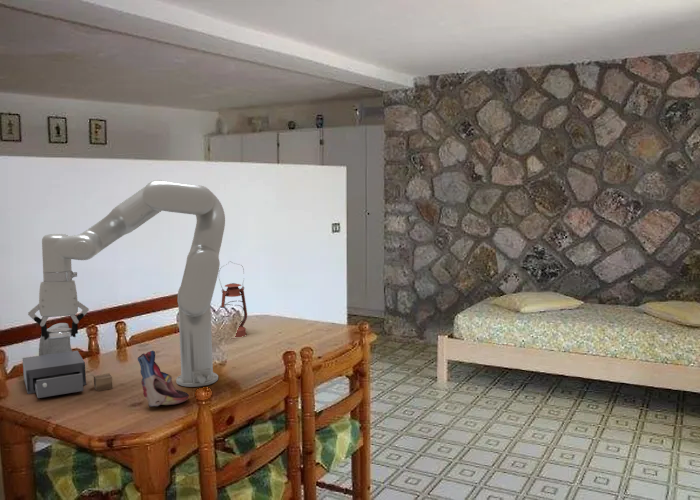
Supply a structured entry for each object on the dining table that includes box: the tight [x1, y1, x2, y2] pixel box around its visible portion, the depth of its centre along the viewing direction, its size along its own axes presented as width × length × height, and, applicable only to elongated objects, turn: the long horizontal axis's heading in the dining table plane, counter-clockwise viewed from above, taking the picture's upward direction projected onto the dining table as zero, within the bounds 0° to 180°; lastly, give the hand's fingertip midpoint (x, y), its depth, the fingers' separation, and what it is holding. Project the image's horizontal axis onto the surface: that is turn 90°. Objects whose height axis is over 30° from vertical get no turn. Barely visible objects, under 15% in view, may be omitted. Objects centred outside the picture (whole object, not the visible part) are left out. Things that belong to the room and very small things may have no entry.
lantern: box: [218, 260, 248, 338], centre depth 254 cm, size 10×10×30 cm
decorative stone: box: [38, 322, 73, 356], centre depth 213 cm, size 11×6×15 cm, turn 148°
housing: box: [22, 350, 87, 395], centre depth 198 cm, size 16×16×7 cm
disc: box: [47, 327, 73, 339], centre depth 187 cm, size 7×7×2 cm
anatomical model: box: [137, 350, 190, 407], centre depth 176 cm, size 9×13×15 cm
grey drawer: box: [33, 372, 84, 399], centre depth 190 cm, size 16×12×5 cm
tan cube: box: [93, 373, 114, 392], centre depth 192 cm, size 4×4×4 cm
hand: (59, 337), depth 187 cm, fingers closed on disc, 6 cm apart
